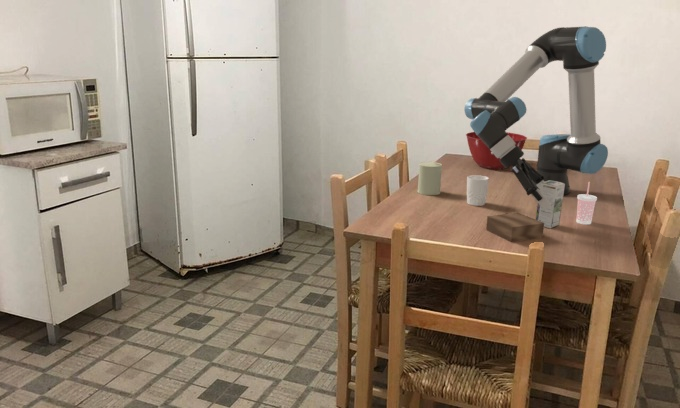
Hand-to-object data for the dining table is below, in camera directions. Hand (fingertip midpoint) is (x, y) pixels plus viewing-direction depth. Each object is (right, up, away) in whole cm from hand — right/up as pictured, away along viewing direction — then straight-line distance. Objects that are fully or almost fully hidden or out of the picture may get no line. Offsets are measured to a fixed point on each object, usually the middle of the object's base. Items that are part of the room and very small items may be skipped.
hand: (550, 202), depth 180 cm
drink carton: (0, -8, +3) cm, 8 cm away
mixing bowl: (+7, +18, +93) cm, 95 cm away
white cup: (-17, -1, +27) cm, 32 cm away
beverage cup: (+14, -7, +6) cm, 16 cm away
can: (-33, +4, +43) cm, 54 cm away
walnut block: (-14, -10, -6) cm, 18 cm away
